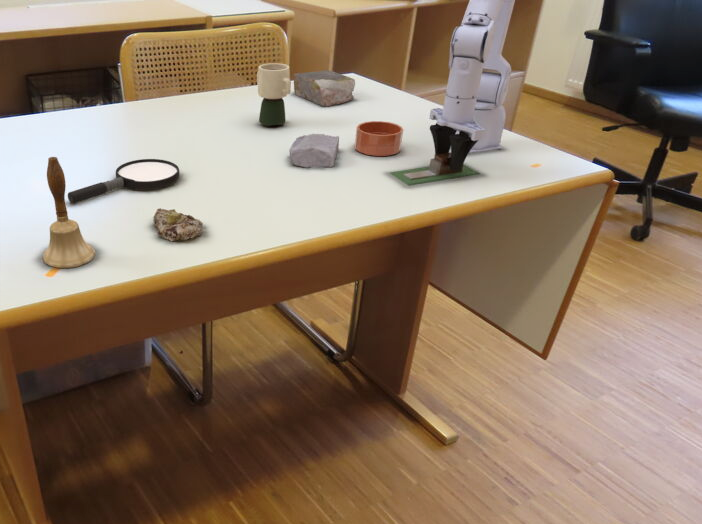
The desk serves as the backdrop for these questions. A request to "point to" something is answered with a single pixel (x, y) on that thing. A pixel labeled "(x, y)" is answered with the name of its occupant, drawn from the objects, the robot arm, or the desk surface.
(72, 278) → the desk surface
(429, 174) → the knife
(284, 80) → the character mug
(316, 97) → the geological specimen
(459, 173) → the green flat rectangular slab
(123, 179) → the magnifying glass
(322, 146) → the stone block
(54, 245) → the hand bell
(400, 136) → the bowl
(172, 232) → the mineral rock
